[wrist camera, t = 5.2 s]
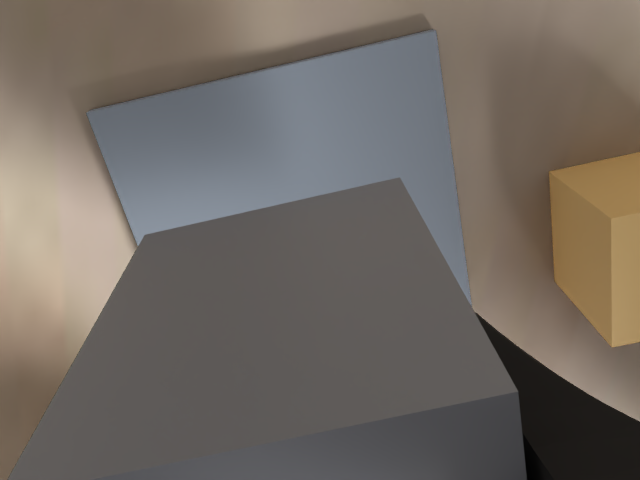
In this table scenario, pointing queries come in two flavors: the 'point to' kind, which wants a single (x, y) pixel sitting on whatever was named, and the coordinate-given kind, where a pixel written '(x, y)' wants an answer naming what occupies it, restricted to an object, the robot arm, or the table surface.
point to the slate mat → (290, 140)
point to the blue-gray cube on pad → (286, 357)
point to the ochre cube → (600, 243)
